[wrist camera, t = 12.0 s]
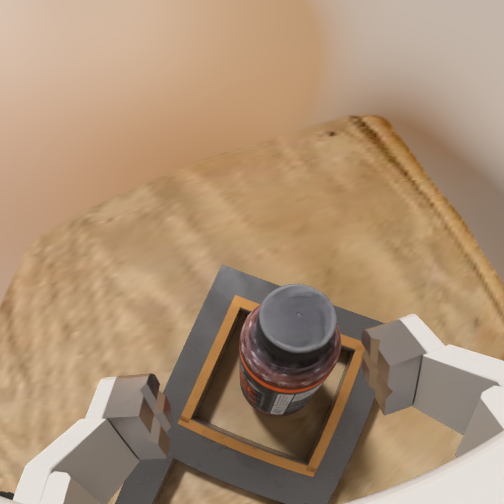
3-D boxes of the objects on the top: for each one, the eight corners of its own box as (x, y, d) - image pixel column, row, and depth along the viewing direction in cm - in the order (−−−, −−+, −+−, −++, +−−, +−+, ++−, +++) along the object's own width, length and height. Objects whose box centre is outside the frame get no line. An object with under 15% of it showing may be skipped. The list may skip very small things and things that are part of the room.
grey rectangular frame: (107, 533, 19) (99, 539, 18) (224, 270, 30) (221, 263, 28) (259, 599, 16) (258, 607, 14) (391, 330, 26) (398, 327, 24)
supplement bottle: (229, 363, 25) (221, 284, 17) (295, 340, 27) (321, 254, 18) (256, 429, 22) (265, 388, 13) (326, 401, 23) (376, 341, 15)
